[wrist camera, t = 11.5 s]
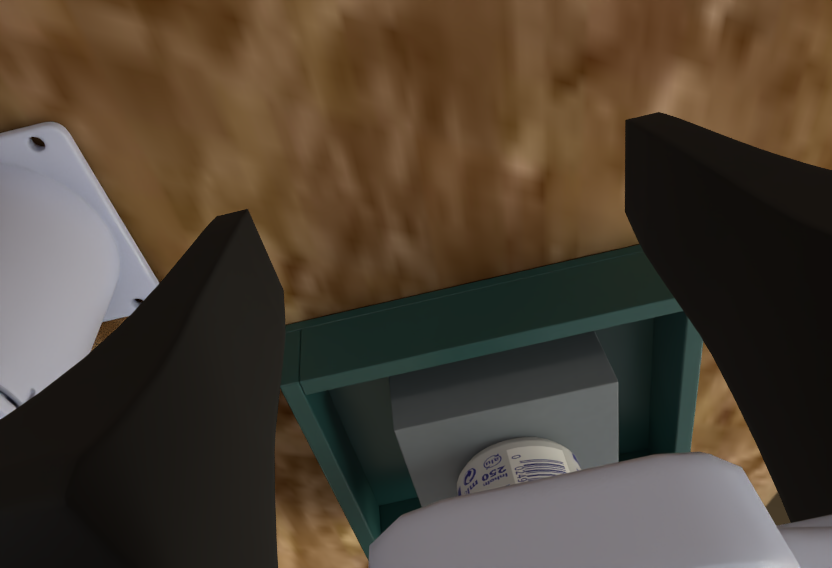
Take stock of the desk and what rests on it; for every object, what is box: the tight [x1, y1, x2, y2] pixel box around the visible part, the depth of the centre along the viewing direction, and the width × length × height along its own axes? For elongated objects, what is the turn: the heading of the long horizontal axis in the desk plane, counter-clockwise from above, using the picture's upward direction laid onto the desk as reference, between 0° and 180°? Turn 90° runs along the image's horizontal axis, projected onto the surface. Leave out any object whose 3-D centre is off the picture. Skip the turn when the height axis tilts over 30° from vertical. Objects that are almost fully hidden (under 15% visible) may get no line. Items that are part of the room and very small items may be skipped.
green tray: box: [280, 245, 703, 561], centre depth 30 cm, size 17×15×4 cm
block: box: [388, 331, 618, 507], centre depth 30 cm, size 9×9×4 cm
